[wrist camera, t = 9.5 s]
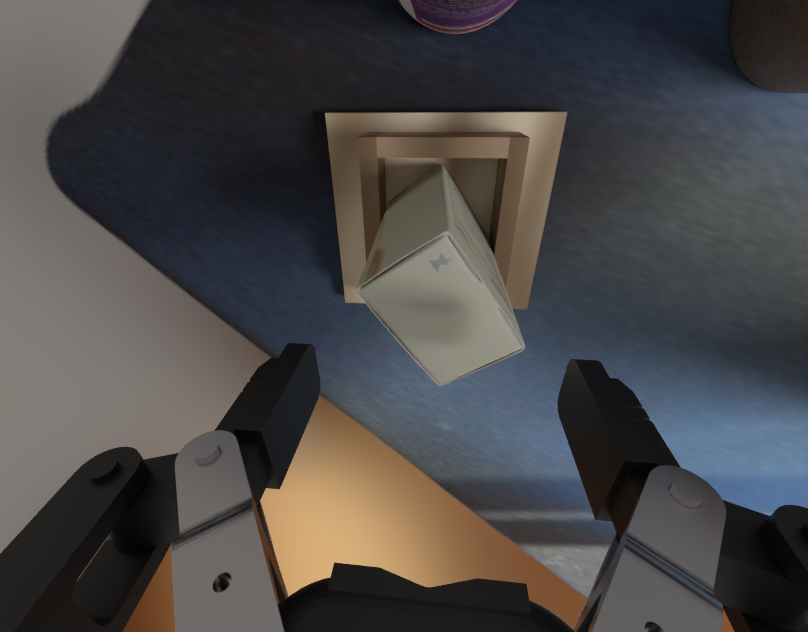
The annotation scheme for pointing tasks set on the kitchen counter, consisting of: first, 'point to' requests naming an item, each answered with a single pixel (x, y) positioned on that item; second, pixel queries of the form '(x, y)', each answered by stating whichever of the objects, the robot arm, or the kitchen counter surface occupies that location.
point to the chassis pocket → (467, 166)
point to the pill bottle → (456, 13)
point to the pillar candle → (771, 43)
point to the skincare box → (439, 282)
